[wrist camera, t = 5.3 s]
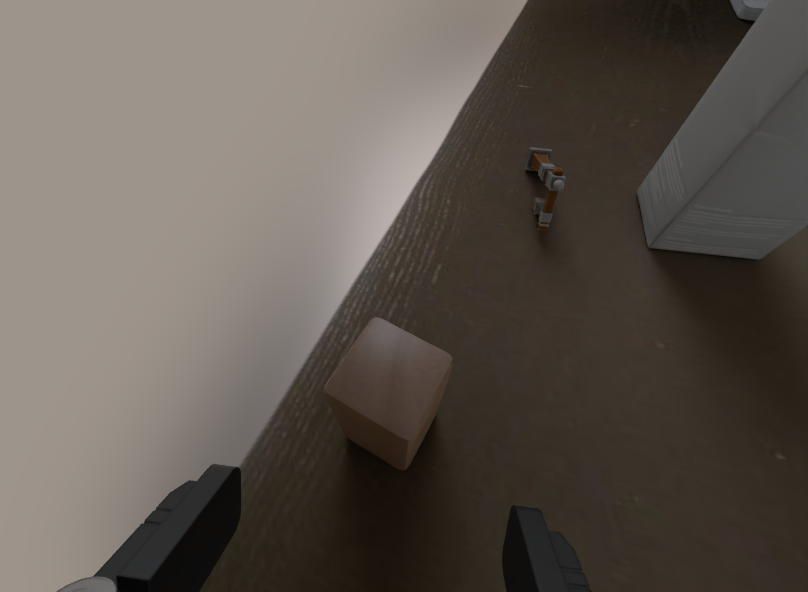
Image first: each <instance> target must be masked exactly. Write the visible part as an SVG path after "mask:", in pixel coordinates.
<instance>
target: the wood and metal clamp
mask: <svg viewBox="0 0 808 592" xmlns="http://www.w3.org/2000/svg"><path fill="white" fill-rule="evenodd" d="M551 153H552V151H551V150H550V149H540V148H531V147H530V149H529V153H528V157H527V161H526V165H525V169H526V170H532V171H538V175H539V176H540V179H541V180H542V181H546V184H545V185H546V186H547V191H546V199H544V198H535V200H534V203H533V207H532V209H534V213H533V214H534V215H540V216H539V222H538V223H539V224H538V227H537V228H538V230H539V231H547V228H548V226H549V225H548V224H549V223H550V222H551V218H552V215H553V213H552V210H553V207H554V203H555V200H556V196H557V193H558V191H563V188H564V184H565V181H566V177H564V176H563V170H562V169H561V168H557V167H554V165H553V164H550V163H549V160H550V156H551Z"/></svg>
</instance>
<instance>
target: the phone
mask: <svg viewBox="0 0 808 592" xmlns="http://www.w3.org/2000/svg"><path fill="white" fill-rule="evenodd" d="M730 2H731V4H732V6H733V8H734V10H735V12H736V14H737V16H738V17H739V18H741V19H745V20H754V21H756V20H757V19H758V17H759V16H760V14H761V13H762V12H763V10H764V9H765V7H766V6H767V4H768V3H769V2H770V0H730Z"/></svg>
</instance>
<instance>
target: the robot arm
mask: <svg viewBox="0 0 808 592" xmlns="http://www.w3.org/2000/svg"><path fill="white" fill-rule="evenodd" d="M240 514H241V471H240V468H238V467H233V466H225V465H217V464H213V465H211V466H210V467H209V468H208V469H207V470H206V471H205V472H204V474H203V475H202V476H201V477H200V478H199V479H198V481H190V480H189V481H188V482H186V483H184V484H183V485H181V486H180V487H178V488H177V489H175V490H174V491H172V492H170V493H169V495H168V496H167V497H166V498H165V499H164V500H163V501H162V502H161V503H160V504H159V506H158V507H157V508H156V510H155V511H153V512H152V513H151V514H150V515H149V516H148V518H147V519H146V520H145V522H144V524H141V525H140V526H139V527H138V528H137V529H136V530H135V532H134V533H133V534H132V535H131V536H130V537H129V538H128V539H127V540H126V541H125V542H124V544H123V545H122V546H121V547H120V548H119V549H118V550H117V551H116V552H115V553H114V554H113V555H112V557H111V558H110V559H109V560H108V561H107V562H106V563H105V564H104V565H103V567H101V569H100V570H99V571H98V572H97V573H96V574H95V575H94V576H93V577H88V578H84V579H81V580H78V581H75V582H73V583H71V584H69V585H67V586H65V587H63V588H62V589H60V590H58V591H57V592H199V591H200V589H201V588H202V586H203V584H204V583H205V581H206V579H207V578H208V576H209V574H210V573H211V571H212V570H213V568H214V566H215V565H216V563H217V561H218V560H219V558H220V556H221V555H222V553H223V551H224V550H225V548H226V546H227V545H228V543H229V542H230V540H231V538H232V537H233V535H234V533H235V531H236V528H237V526H238V523H239V519H240ZM502 563H503V574H504V580H505V585H506V590H507V592H591V590H589V584H588V582H587V580H586V577H585V575H584V573H582V568H581V565H580V563H579V560H578V558H577V555H576V553H575V551H574V549H573V548H572V547H571V545H570V544H569V543H568V542H567V541H566V539H565V538H564V537H563V536H562V534H561V533H560V532H553V531H548V529H547V526H546V523H545V520H544V517H543V515H542V512H541V510H540V509H537V508H529V507H522V506H515V505H513V506H512V507H511V510H510V515H509V520H508V525H507V530H506V536H505V541H504V546H503V556H502Z"/></svg>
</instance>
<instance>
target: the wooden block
mask: <svg viewBox="0 0 808 592" xmlns="http://www.w3.org/2000/svg"><path fill="white" fill-rule="evenodd" d="M452 368H453V358H452V357H451V356H450V355H449V354H448V353H447V352H445V351H443V350H441V349H439V348H437V347H435V346H433V345H431V344H429V343H427V342H426V341H424V340H422V339H420V338H418V337H416V336H414V335H412V334H410V333H408V332H406V331H404V330H402V329H400V328H399V327H397V326H395V325H393V324H391V323H389V322H387V321H385V320H383V319H381V318H377V317H375V318H373V319H372V320H371V321H370V322H369V323H368V324H367V326H366V327H365V329H364V330H363V331H362V333H361V334H360V336H359V337H358V339H357V340H356V341H355V343H354V344H353V346H352V347H351V349H350V350H349V351H348V353H347V354H346V356H345V357H344V359H343V360H342V361H341V363H340V364H339V366H338V367H337V369H336V370H335V371H334V373H333V374H332V376H331V377H330V379H329V380H328V381H327V383H326V384H325V387H324V392H323V393H324V395H325V397H326V399H327V401H328V403H329V405H330V406H331V408H332V410H333V412H334V414H335V416H336V418H337V420H338V422H339V424H340V426H341V428H342V430H343V432H344V434H345V435H346V437H347V438H348V439H350V440H351V441H353V442H355V443H356V444H358V445H359V446H361V447H363V448H364V449H366V450H367V451H369V452H371V453H372V454H374V455H375V456H377V457H379V458H380V459H382V460H383V461H385V462H387V463H388V464H390V465H391V466H393V467H395V468H396V469H398V470H403V471H405V470H406V469H407V468H408V467H409V466H410V464H411V462H412V460H413V458H414V456H415V454H416V452H417V450H418V448H419V446H420V445H421V443H422V441H423V439H424V437H425V435H426V433H427V431H428V429H429V427H430V425H431V423H432V421H433V419H434V417H435V416H436V414H437V411H438V408H439V405H440V402H441V399H442V396H443V394H444V391H445V388H446V385H447V382H448V379H449V376H450V373H451V370H452Z"/></svg>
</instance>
